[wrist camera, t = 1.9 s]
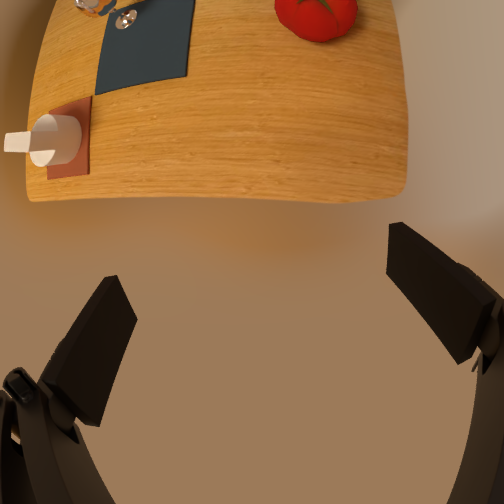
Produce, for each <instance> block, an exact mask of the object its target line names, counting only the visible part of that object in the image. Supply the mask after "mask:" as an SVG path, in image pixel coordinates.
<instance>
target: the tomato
mask: <svg viewBox="0 0 504 504" xmlns="http://www.w3.org/2000/svg"><path fill="white" fill-rule="evenodd" d="M274 8H275V11H276V14H277V16H278V18H279V21H280V22H281V23H282V24H283V25H284V26H285V27H287V28H288V29H289V30H291V31H292V32H293V33H295V34H296V35H297V36H299V37H300V38H303V39H306V40H309V41H316V42H325V41H327V40H329V39H331V38H334V37H339V36H342V35H345V34H346V33H347V31H348V30H349V29H350V28H351V26H352V25H353V24H354V22H355V18H356V14H357V10H358V6H357V2H356V0H275V7H274Z"/></svg>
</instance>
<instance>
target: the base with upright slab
mask: <svg viewBox="0 0 504 504" xmlns="http://www.w3.org/2000/svg"><path fill="white" fill-rule="evenodd" d="M81 138H82V131H81V126H80V123H79V121H78V120H77V119H76V118H75V117H73V116H65V115H51V114H46V115H43V116H41V117H40V118H39V119H38V120H37V121H36V123H35V125H34V126H33V129H32V131H29V132H17V133H6V136H5V142H4V151H5V152H29V153H30V157H31V159H32V161H33V163H34V164H35V165H36V166H39V167H42V166H50V165H57V164H66V163H68V162H70V161H71V160H72V159H73V158H74V157H75V156H76V154H77V152H78V150H79V148H80V144H81Z"/></svg>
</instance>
